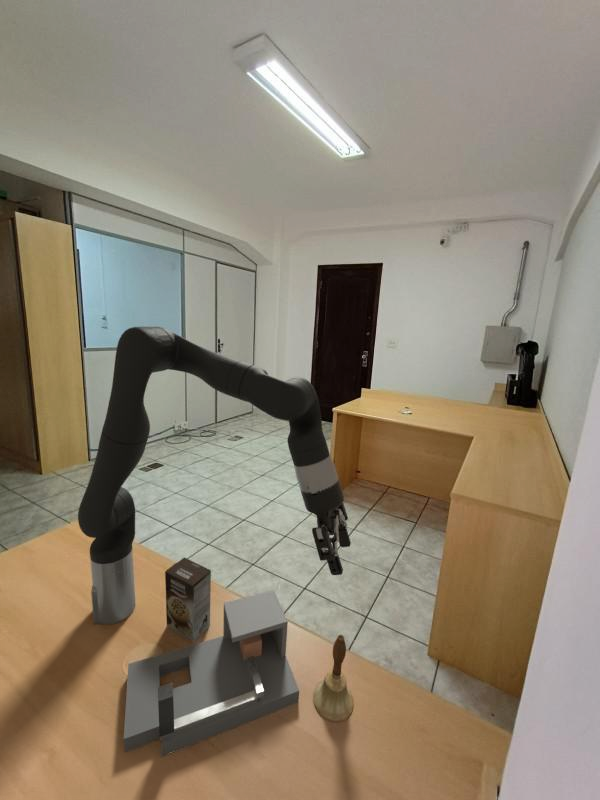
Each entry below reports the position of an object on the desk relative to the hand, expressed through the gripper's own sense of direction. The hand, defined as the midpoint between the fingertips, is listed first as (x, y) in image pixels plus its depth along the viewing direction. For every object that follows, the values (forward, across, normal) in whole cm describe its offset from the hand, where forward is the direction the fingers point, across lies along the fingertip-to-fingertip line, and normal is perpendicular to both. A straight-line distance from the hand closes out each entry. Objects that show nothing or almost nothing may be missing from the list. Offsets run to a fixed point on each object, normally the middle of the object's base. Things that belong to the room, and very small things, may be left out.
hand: (342, 559), depth 68 cm
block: (+20, 0, -27) cm, 34 cm away
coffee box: (+16, -2, -46) cm, 48 cm away
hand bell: (+30, +2, -10) cm, 32 cm away
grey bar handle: (+19, +13, -30) cm, 37 cm away
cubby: (+21, +9, -33) cm, 40 cm away
